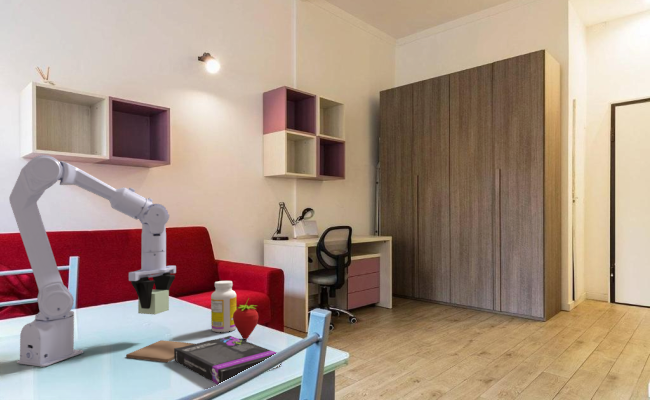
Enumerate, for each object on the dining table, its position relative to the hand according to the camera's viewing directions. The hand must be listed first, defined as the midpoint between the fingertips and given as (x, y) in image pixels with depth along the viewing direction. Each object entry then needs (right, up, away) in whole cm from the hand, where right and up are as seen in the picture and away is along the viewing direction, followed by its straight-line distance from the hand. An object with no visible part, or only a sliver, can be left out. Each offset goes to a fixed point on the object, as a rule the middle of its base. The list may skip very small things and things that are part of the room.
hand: (153, 305), depth 104 cm
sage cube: (0, -1, 0) cm, 1 cm away
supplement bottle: (+16, -9, +8) cm, 20 cm away
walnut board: (+6, -8, -10) cm, 14 cm away
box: (+22, -8, -18) cm, 30 cm away
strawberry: (+23, -8, -1) cm, 25 cm away
